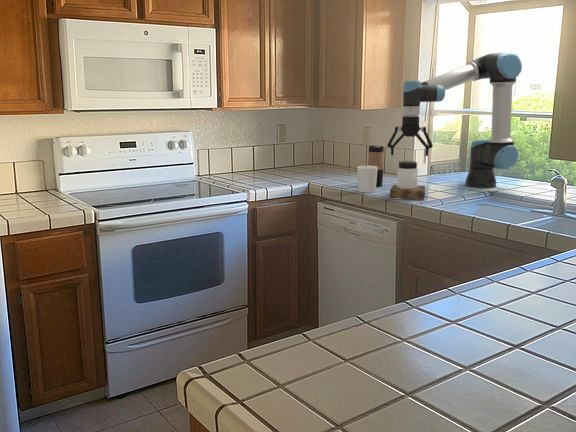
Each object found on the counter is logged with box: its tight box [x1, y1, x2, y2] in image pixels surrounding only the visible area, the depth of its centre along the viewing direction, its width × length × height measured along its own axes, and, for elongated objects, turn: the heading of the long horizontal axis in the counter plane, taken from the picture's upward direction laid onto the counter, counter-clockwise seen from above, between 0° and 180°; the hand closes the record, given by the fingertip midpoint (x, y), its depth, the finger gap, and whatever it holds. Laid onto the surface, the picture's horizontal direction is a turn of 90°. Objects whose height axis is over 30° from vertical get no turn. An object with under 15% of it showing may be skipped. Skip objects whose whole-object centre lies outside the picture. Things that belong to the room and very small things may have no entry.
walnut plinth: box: [389, 184, 426, 201], centre depth 275 cm, size 15×15×4 cm
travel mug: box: [367, 145, 385, 188], centre depth 301 cm, size 8×8×20 cm
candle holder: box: [356, 165, 378, 194], centre depth 287 cm, size 10×10×12 cm
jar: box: [396, 160, 418, 189], centre depth 273 cm, size 9×8×12 cm
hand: (409, 162), depth 272 cm, fingers open, 13 cm apart
